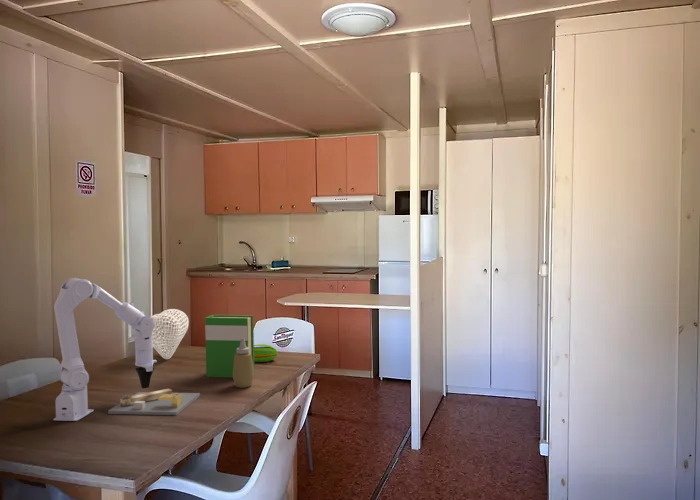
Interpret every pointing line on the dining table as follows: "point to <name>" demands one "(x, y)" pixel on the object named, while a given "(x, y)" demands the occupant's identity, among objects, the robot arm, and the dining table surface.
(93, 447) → the dining table surface
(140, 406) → the block
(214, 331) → the hardback book
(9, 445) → the dining table surface
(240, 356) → the squeeze bottle
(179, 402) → the keeper
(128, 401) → the link
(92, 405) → the dining table surface
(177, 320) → the heart
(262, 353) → the pencil case
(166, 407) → the base plate
